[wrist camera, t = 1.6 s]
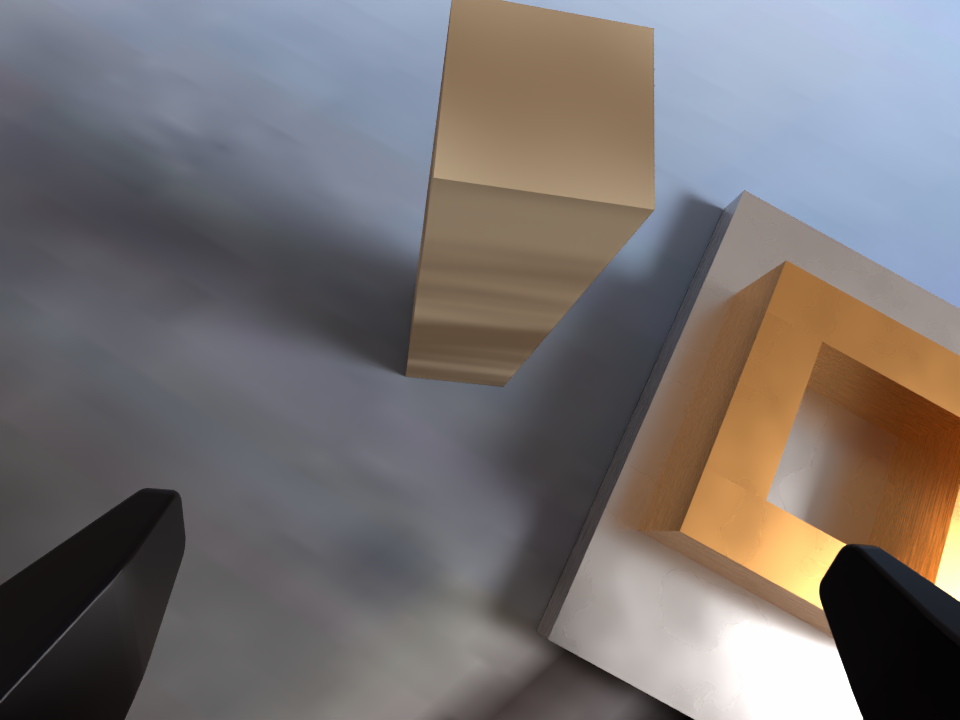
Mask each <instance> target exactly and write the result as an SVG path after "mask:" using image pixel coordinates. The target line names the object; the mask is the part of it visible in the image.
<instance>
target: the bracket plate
mask: <svg viewBox="0 0 960 720" xmlns="http://www.w3.org/2000/svg"><path fill="white" fill-rule="evenodd" d="M847 544H864V545H873V546H877V547H879V548H881V549H883V550H884V551H886V552H887V553H889V554H890V555H892V556H893V557H895V558H896V559H898V560H899V561H901V562H902V563H904V564H905V565H907V566H908V567H910V568H911V569H912V570H914V571H915V572H917V573H918V574H920V575H921V576H923V577H924V578H926V579H927V580H929V581H930V582H932V583H933V584H935V585H936V586H938V587H939V588H941V589H942V590H944V591H945V592H947V593H948V594H950V595H951V596H953V597H954V598H956V599H957V600H958V601H960V309H959V308H957V307H955V306H953V305H952V304H950V303H948V302H946V301H944V300H943V299H941V298H939V297H937V296H935V295H933V294H932V293H930V292H928V291H926V290H924V289H923V288H921V287H919V286H917V285H915V284H914V283H912V282H910V281H908V280H906V279H904V278H903V277H901V276H899V275H897V274H895V273H894V272H892V271H890V270H888V269H886V268H885V267H883V266H881V265H879V264H877V263H875V262H874V261H872V260H870V259H868V258H866V257H865V256H863V255H861V254H859V253H857V252H856V251H854V250H852V249H850V248H848V247H847V246H845V245H843V244H841V243H839V242H837V241H836V240H834V239H832V238H830V237H828V236H827V235H825V234H823V233H821V232H819V231H818V230H816V229H814V228H812V227H810V226H808V225H807V224H805V223H803V222H801V221H799V220H798V219H796V218H794V217H792V216H790V215H789V214H787V213H785V212H783V211H781V210H779V209H778V208H776V207H774V206H772V205H770V204H769V203H767V202H765V201H763V200H761V199H760V198H758V197H756V196H754V195H752V194H750V193H749V192H747V191H745V190H744V191H743V192H742V193H741V194H740V195H739V196H738V197H737V198H735V199H734V200H733V201H732V202H731V203H730V204H729V205H728V206H727V207H726V208H725V209H724V211H723V213H722V215H721V217H720V220H719V222H718V224H717V226H716V229H715V231H714V233H713V235H712V238H711V240H710V242H709V244H708V247H707V249H706V251H705V253H704V256H703V258H702V260H701V262H700V265H699V267H698V269H697V271H696V274H695V276H694V278H693V280H692V283H691V285H690V287H689V289H688V292H687V294H686V296H685V298H684V301H683V303H682V305H681V307H680V310H679V312H678V314H677V316H676V319H675V321H674V323H673V325H672V328H671V330H670V332H669V334H668V337H667V339H666V341H665V343H664V346H663V348H662V350H661V352H660V355H659V357H658V359H657V361H656V363H655V366H654V368H653V370H652V372H651V375H650V377H649V379H648V381H647V384H646V386H645V388H644V390H643V393H642V395H641V397H640V399H639V402H638V404H637V406H636V408H635V411H634V413H633V415H632V417H631V420H630V422H629V424H628V426H627V429H626V431H625V433H624V435H623V438H622V440H621V442H620V444H619V447H618V449H617V451H616V453H615V456H614V458H613V460H612V462H611V465H610V467H609V469H608V471H607V474H606V476H605V478H604V480H603V483H602V485H601V487H600V489H599V492H598V494H597V496H596V498H595V501H594V503H593V505H592V507H591V510H590V512H589V514H588V516H587V519H586V521H585V523H584V525H583V528H582V530H581V532H580V534H579V537H578V539H577V541H576V543H575V546H574V548H573V550H572V552H571V555H570V557H569V559H568V561H567V564H566V566H565V568H564V570H563V573H562V575H561V577H560V579H559V582H558V584H557V586H556V588H555V591H554V593H553V595H552V597H551V600H550V602H549V604H548V606H547V609H546V611H545V613H544V615H543V618H542V620H541V622H540V624H539V627H538V629H537V632H538V633H539V634H541V635H542V636H544V637H545V638H547V639H548V640H550V641H552V642H554V643H555V644H557V645H559V646H561V647H563V648H565V649H566V650H568V651H570V652H572V653H574V654H576V655H577V656H579V657H581V658H583V659H585V660H587V661H588V662H590V663H592V664H594V665H596V666H598V667H599V668H601V669H603V670H605V671H607V672H609V673H610V674H612V675H614V676H616V677H618V678H620V679H621V680H623V681H625V682H627V683H629V684H631V685H632V686H634V687H636V688H638V689H640V690H642V691H643V692H645V693H647V694H649V695H651V696H653V697H654V698H656V699H658V700H660V701H662V702H664V703H665V704H667V705H669V706H671V707H673V708H675V709H676V710H678V711H680V712H682V713H684V714H686V715H687V716H689V717H691V718H693V719H695V720H863V719H862V716H861V714H860V711H859V709H858V707H857V704H856V701H855V699H854V696H853V693H852V691H851V688H850V685H849V682H848V679H847V676H846V673H845V670H844V668H843V665H842V662H841V659H840V656H839V653H838V650H837V647H836V644H835V642H834V639H833V636H832V633H831V630H830V627H829V624H828V621H827V619H826V616H825V613H824V610H823V607H822V604H821V601H820V597H819V585H820V582H821V580H822V578H823V576H824V575H825V573H826V572H827V570H828V568H829V567H830V565H831V564H832V562H833V560H834V559H835V557H836V555H837V554H838V552H839V551H840V549H841V548H842V547H843V546H845V545H847Z"/></svg>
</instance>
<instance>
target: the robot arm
mask: <svg viewBox="0 0 960 720" xmlns="http://www.w3.org/2000/svg"><path fill="white" fill-rule="evenodd" d="M185 540H186V539H185V528H184V519H183V509H182V501H181V497H180V495H179V493H178V492H177V491H175V490H167V489H154V488H145V489H142V490H139V491H138V492H136V493H135V494H133V495H132V496H130V497H129V498H127V499H126V500H124V501H123V502H121V503H120V504H119V505H117V506H116V507H114V508H113V509H111V510H110V511H108V512H107V513H105V514H104V515H103V516H101V517H100V518H98V519H97V520H95V521H94V522H92V523H91V524H89V525H88V526H86V527H85V528H84V529H82V530H81V531H79V532H78V533H76V534H75V535H73V536H72V537H70V538H69V539H67V540H66V541H65V542H63V543H62V544H60V545H59V546H57V547H56V548H54V549H53V550H51V551H50V552H48V553H47V554H46V555H44V556H43V557H41V558H40V559H38V560H37V561H35V562H34V563H32V564H31V565H30V566H28V567H27V568H25V569H24V570H22V571H21V572H19V573H18V574H16V575H15V576H13V577H12V578H11V579H9V580H8V581H6V582H5V583H3V584H2V585H0V720H125V718H126V715H127V713H128V711H129V709H130V707H131V704H132V702H133V700H134V698H135V695H136V693H137V691H138V688H139V686H140V683H141V681H142V679H143V676H144V673H145V670H146V668H147V665H148V662H149V659H150V656H151V653H152V650H153V647H154V644H155V641H156V638H157V635H158V632H159V629H160V625H161V622H162V619H163V616H164V613H165V610H166V607H167V604H168V601H169V598H170V595H171V592H172V589H173V586H174V582H175V579H176V576H177V573H178V570H179V567H180V564H181V561H182V558H183V554H184V550H185ZM819 597H820V601H821V604H822V607H823V610H824V613H825V616H826V619H827V621H828V624H829V627H830V630H831V633H832V636H833V639H834V642H835V644H836V647H837V650H838V653H839V656H840V659H841V662H842V665H843V668H844V670H845V673H846V676H847V679H848V682H849V685H850V688H851V691H852V693H853V696H854V699H855V701H856V704H857V707H858V709H859V711H860V714H861V716H862V719H863V720H960V601H958V600H957V599H956V598H954V597H953V596H951V595H950V594H948V593H947V592H945V591H944V590H942V589H941V588H939V587H938V586H936V585H935V584H933V583H932V582H930V581H929V580H927V579H926V578H924V577H923V576H921V575H920V574H918V573H917V572H915V571H914V570H912V569H911V568H910V567H908V566H907V565H905V564H904V563H902V562H901V561H899V560H898V559H896V558H895V557H893V556H892V555H890V554H889V553H887V552H886V551H884V550H883V549H881V548H879V547H877V546H873V545H864V544H847V545H845V546H843V547H842V548H841V549H840V551H839V552H838V554H837V555H836V557H835V559H834V560H833V562H832V564H831V565H830V567H829V568H828V570H827V572H826V573H825V575H824V576H823V578H822V580H821V582H820V585H819Z"/></svg>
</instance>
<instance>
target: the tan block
mask: <svg viewBox="0 0 960 720" xmlns="http://www.w3.org/2000/svg"><path fill="white" fill-rule="evenodd" d="M654 210H655V186H654V28H649V27H643V26H638V25H633V24H627V23H622V22H616V21H611V20H605V19H600V18H594V17H589V16H583V15H578V14H573V13H567V12H562V11H556V10H551V9H545V8H540V7H534V6H529V5H523V4H518V3H512V2H507V1H502V0H452V3H451V10H450V18H449V26H448V34H447V42H446V50H445V57H444V65H443V73H442V81H441V89H440V97H439V105H438V112H437V120H436V128H435V136H434V144H433V152H432V159H431V167H430V175H429V183H428V191H427V199H426V206H425V214H424V222H423V230H422V238H421V246H420V253H419V261H418V269H417V277H416V285H415V294H414V304H413V313H412V322H411V331H410V341H409V350H408V359H407V369H406V377H415V378H425V379H434V380H444V381H453V382H463V383H472V384H482V385H491V386H501V387H504V385H505V384H506V383H507V382H508V381H509V379H510V378H511V377H512V376H513V375H514V374H515V372H516V371H517V370H518V369H519V368H520V367H521V365H522V364H523V363H524V362H525V361H526V360H527V358H528V357H529V356H530V355H531V354H532V353H533V351H534V350H535V349H536V348H537V347H538V346H539V344H540V343H541V342H542V341H543V340H544V339H545V337H546V336H547V335H548V334H549V333H550V332H551V330H552V329H553V328H554V327H555V326H556V324H557V323H558V322H559V321H560V320H561V319H562V317H563V316H564V315H565V314H566V313H567V312H568V310H569V309H570V308H571V307H572V306H573V305H574V303H575V302H576V301H577V300H578V299H579V298H580V296H581V295H582V294H583V293H584V292H585V291H586V289H587V288H588V287H589V286H590V285H591V284H592V282H593V281H594V280H595V279H596V278H597V277H598V275H599V274H600V273H601V272H602V271H603V269H604V268H605V267H606V266H607V265H608V264H609V262H610V261H611V260H612V259H613V258H614V257H615V255H616V254H617V253H618V252H619V251H620V250H621V248H622V247H623V246H624V245H625V244H626V243H627V241H628V240H629V239H630V238H631V237H632V236H633V234H634V233H635V232H636V231H637V230H638V229H639V227H640V226H641V225H642V224H643V223H644V221H645V220H646V219H647V218H648V217H649V216H650V214H651V213H652V212H653V211H654Z"/></svg>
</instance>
